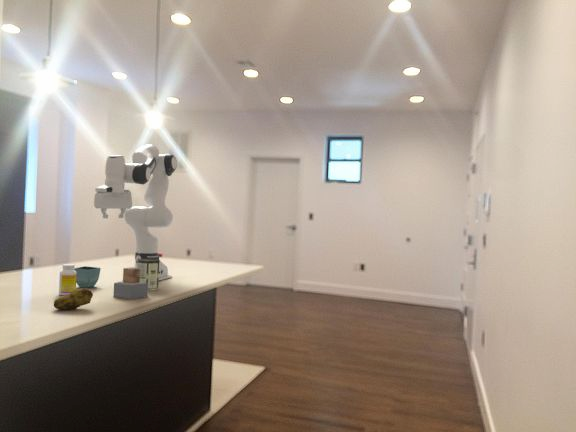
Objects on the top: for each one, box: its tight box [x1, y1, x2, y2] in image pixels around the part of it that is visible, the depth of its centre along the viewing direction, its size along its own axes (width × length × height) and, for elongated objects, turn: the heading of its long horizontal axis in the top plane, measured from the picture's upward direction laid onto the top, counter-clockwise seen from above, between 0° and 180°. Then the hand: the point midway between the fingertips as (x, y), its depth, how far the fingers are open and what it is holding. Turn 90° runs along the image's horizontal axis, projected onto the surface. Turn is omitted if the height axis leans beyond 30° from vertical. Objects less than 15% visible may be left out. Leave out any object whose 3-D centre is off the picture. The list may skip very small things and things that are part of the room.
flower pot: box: [74, 266, 102, 289], centre depth 232 cm, size 9×9×9 cm
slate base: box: [112, 280, 149, 301], centre depth 214 cm, size 10×10×6 cm
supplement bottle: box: [58, 263, 77, 296], centre depth 211 cm, size 7×7×13 cm
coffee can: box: [137, 259, 161, 292], centre depth 235 cm, size 10×10×14 cm
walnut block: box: [122, 266, 140, 283], centre depth 214 cm, size 5×5×6 cm
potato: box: [53, 287, 94, 311], centre depth 184 cm, size 8×13×8 cm, turn 99°
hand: (113, 218), depth 232 cm, fingers open, 8 cm apart
